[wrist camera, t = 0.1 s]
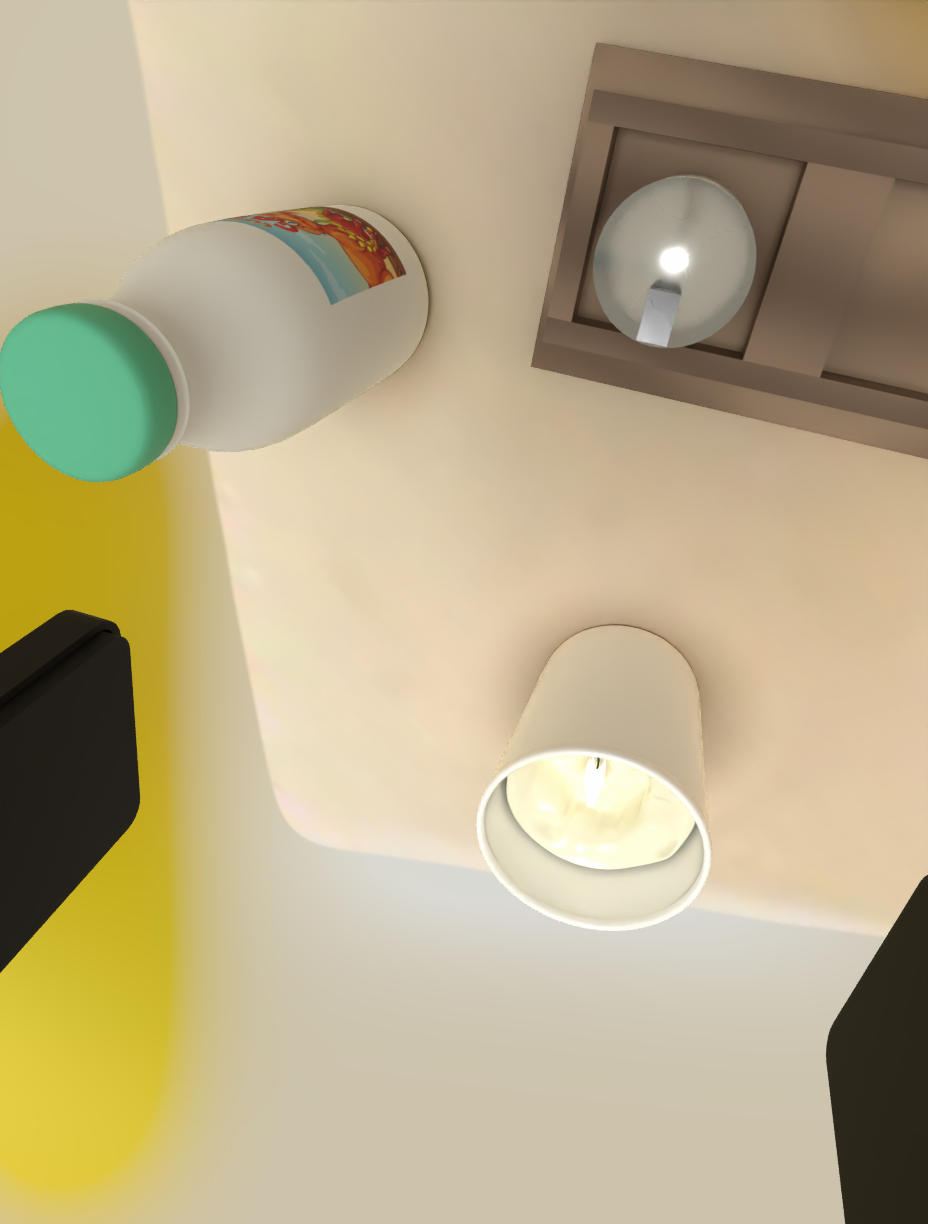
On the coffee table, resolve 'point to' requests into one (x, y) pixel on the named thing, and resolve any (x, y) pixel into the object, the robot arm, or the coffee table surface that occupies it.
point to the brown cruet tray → (762, 244)
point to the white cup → (603, 786)
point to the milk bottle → (217, 341)
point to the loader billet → (675, 261)
